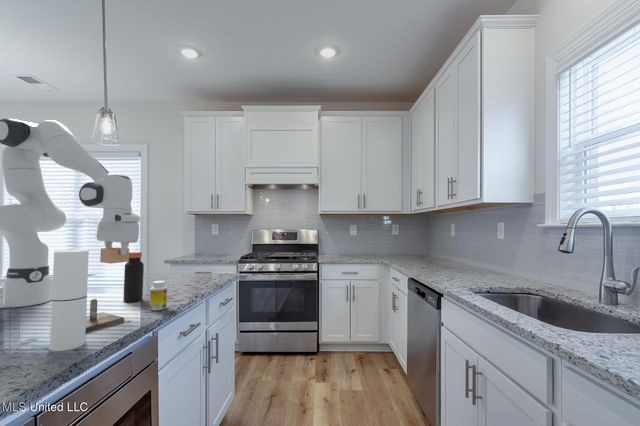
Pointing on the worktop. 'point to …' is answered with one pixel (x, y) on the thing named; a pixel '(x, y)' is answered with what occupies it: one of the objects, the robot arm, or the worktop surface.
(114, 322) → the pin stand
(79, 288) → the cylindrical container
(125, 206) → the robot arm
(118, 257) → the light brown block
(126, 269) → the vinegar
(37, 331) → the worktop surface
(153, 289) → the supplement bottle
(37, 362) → the worktop surface
